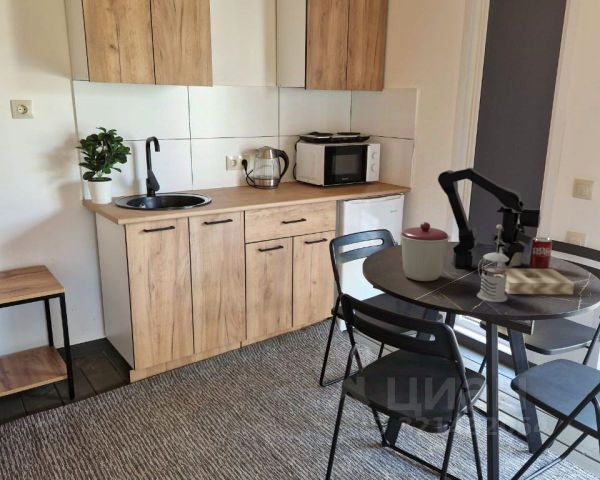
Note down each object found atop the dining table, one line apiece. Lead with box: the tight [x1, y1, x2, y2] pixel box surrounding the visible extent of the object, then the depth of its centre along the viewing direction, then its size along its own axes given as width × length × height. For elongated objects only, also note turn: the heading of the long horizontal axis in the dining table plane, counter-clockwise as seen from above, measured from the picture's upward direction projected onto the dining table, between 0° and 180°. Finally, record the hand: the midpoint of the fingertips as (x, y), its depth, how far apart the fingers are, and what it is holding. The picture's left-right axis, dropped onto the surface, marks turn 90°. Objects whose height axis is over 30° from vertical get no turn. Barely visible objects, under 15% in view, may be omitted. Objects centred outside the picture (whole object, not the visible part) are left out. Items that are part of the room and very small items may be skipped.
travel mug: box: [512, 219, 526, 267], centre depth 208 cm, size 8×8×18 cm
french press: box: [476, 224, 509, 303], centre depth 172 cm, size 10×12×25 cm
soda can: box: [528, 236, 553, 269], centre depth 203 cm, size 7×7×12 cm
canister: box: [399, 221, 451, 282], centre depth 191 cm, size 18×18×21 cm
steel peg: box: [496, 247, 513, 269], centre depth 198 cm, size 4×4×10 cm
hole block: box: [494, 268, 575, 295], centre depth 184 cm, size 22×16×4 cm
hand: (504, 264), depth 198 cm, fingers closed on steel peg, 4 cm apart
